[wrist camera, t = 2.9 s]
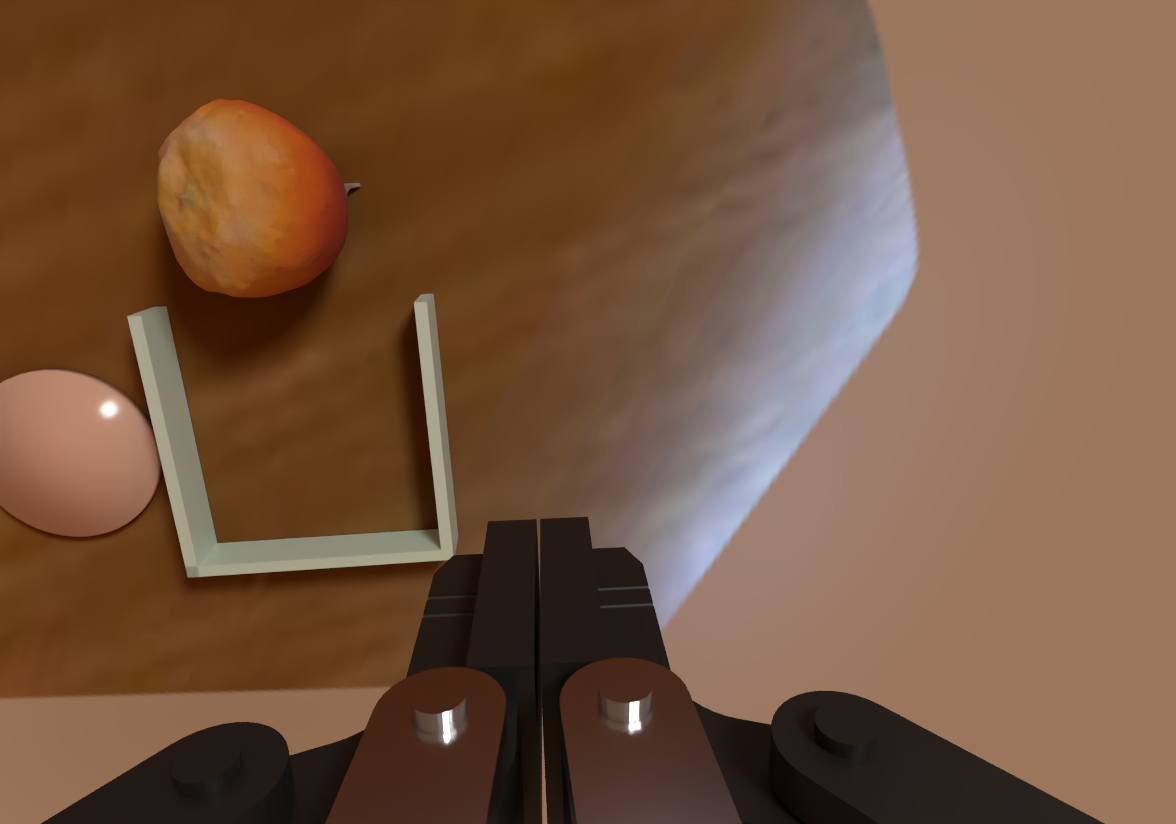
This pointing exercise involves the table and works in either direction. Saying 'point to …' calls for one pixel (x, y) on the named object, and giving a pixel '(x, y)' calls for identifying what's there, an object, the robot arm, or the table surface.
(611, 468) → the table surface
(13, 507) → the pink shiny oval part
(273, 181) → the fruit
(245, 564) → the pale gray u-shaped frame
